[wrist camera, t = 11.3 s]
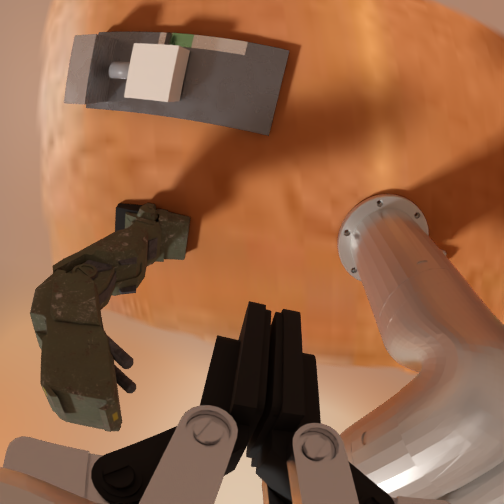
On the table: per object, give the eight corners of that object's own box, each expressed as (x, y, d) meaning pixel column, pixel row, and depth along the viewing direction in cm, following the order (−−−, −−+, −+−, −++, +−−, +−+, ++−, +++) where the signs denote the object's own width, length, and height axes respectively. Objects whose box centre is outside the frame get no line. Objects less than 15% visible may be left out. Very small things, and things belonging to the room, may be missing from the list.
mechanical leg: (92, 239, 42) (14, 423, 16) (93, 192, 39) (-20, 365, 13) (185, 250, 45) (184, 452, 20) (191, 203, 42) (191, 403, 16)
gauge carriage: (193, 36, 28) (183, 29, 25) (179, 101, 32) (167, 102, 28) (128, 32, 28) (112, 27, 25) (117, 94, 32) (100, 95, 28)
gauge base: (289, 52, 30) (291, 42, 24) (269, 134, 35) (267, 141, 29) (104, 33, 30) (76, 27, 24) (92, 107, 34) (63, 111, 28)
